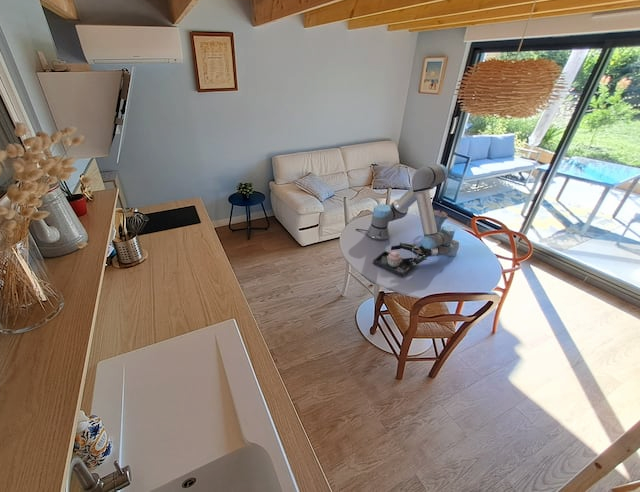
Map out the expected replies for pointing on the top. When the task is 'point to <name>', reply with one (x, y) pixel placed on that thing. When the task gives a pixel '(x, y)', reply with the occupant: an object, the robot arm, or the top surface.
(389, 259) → the cupcake
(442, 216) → the moka pot
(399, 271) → the baking tray
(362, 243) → the top surface
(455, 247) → the cup
